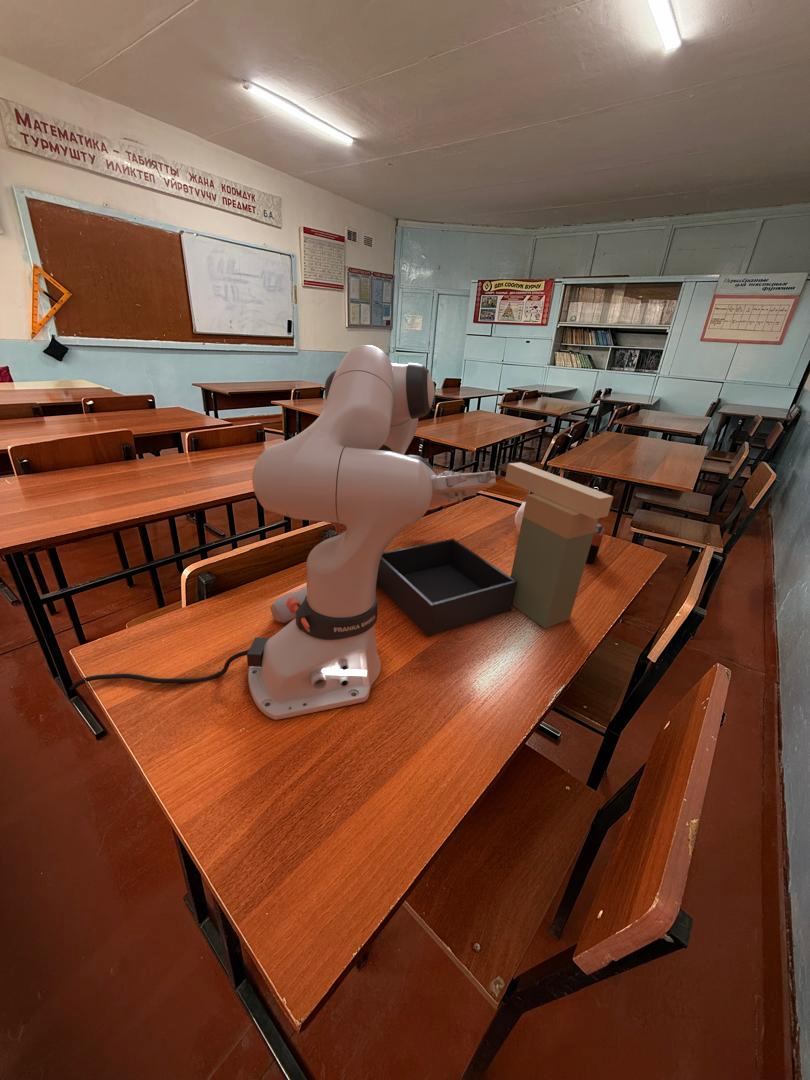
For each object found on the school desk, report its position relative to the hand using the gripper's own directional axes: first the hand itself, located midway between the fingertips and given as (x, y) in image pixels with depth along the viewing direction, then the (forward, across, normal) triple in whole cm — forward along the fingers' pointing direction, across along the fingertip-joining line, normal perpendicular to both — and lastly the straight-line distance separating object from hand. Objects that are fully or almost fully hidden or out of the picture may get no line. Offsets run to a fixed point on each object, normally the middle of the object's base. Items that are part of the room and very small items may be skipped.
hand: (479, 475), depth 108 cm
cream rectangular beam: (+21, 0, +10) cm, 23 cm away
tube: (-9, -42, +23) cm, 48 cm away
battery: (-1, +34, +27) cm, 44 cm away
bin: (-2, -17, +26) cm, 32 cm away
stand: (+10, 0, +34) cm, 35 cm away
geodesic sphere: (-14, +28, +20) cm, 37 cm away
